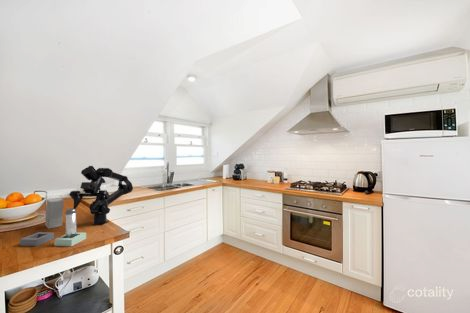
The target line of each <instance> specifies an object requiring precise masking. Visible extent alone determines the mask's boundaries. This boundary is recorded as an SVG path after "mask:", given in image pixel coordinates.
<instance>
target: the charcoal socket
mask: <svg viewBox="0 0 470 313" xmlns="http://www.w3.org/2000/svg"><path fill="white" fill-rule="evenodd" d="M54 239H55V232H49V231H48V232H45V231H44V232H43V231H38V232H36V233H33V234H31V235H27V236H25V237H22V238H20V239H19V246H21V247H22V246H23V247H24V246H25V247H38V246H41V245H43V244H45V243H47V242H49V241H53V240H54Z"/></svg>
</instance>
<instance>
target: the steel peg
mask: <svg viewBox="0 0 470 313" xmlns="http://www.w3.org/2000/svg"><path fill="white" fill-rule="evenodd" d="M76 232H77V207H76V208H74V207H72V208H67V209H65V234H66V238H73V237H75V236H76Z"/></svg>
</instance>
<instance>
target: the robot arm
mask: <svg viewBox="0 0 470 313" xmlns="http://www.w3.org/2000/svg"><path fill="white" fill-rule="evenodd" d="M80 174H81V175H82V176H83V177H84V178H85V179H86V180H88V181H86V182H85V181H83V182H81V184H80V189H82V190H83V192H81V191H80V190H71V191H70V192H69V193H68V196H70V198H71V199H72V200H73V208H76V209H77V207H78V206H79V205H80V203H81V202H82V200H83V198H84V197H85V198H86V197H89V198H92V197H96V198H95V200H93V201H92V202H91V203H90V204H89V211H90V214H91V215H94V216H93V223H91V225H93V226H102V225H105V224H107V223H108V222H109V220H107V214H108V215H109V213H110V211H111V209H110V207H109V205H110V204H111V203H113V202H114V201H116V200H118V199H119V198H121V197H122V196H124V195H127V194H130V193H132V192H133V189H134V187H133V184H132V182H131V181H130V180H129V178H128V176H127V175H123V174H119V173H117V172H114V171H113V170H112V169H111V168H110V167H98V168H97V169H95V167H94V166H93V165H88V167H86V168H84V169H82V170H81V172H80ZM105 178H107V179H108V178H109V179H112V180H114V181H115V180H116V181H118V185H117V187H118V188H117V190H115V191H114V192H112V193H110V194H109V192H108V191H107V190H106V189H103V190H102V189H101V186H102V184H105V183H106V180H105ZM123 182H124V184H123Z"/></svg>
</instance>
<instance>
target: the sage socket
mask: <svg viewBox="0 0 470 313" xmlns="http://www.w3.org/2000/svg"><path fill="white" fill-rule="evenodd" d="M86 239H87V232H77V231H76V236H75V237H73V238H66V233H65V234H63V235H61V236H59V237H57V238H54V239H53V240H54V242H53V243H54V244H53V245H54V246H55V247H57V246H58V247H73V246H76V245H77V244H79V243H80V242H83V241H84V240H86Z"/></svg>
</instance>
